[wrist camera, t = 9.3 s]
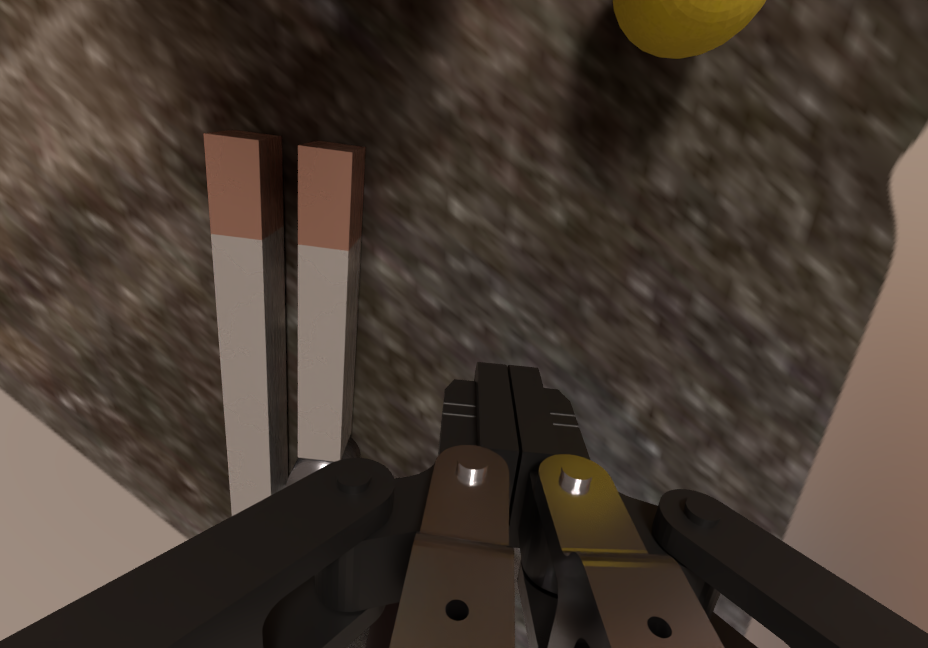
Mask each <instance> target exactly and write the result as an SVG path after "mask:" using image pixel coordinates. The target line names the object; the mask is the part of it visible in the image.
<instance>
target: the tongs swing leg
mask: <svg viewBox="0 0 928 648" xmlns="http://www.w3.org/2000/svg"><path fill="white" fill-rule="evenodd" d="M365 151H366V147H362V146H355V145H347V144H340V143H332V142H325V141H318V140H317V141H313V142H309V143H305V144H301V145H298V459H297V461H296V463H295V465H294V467H293V470H292V472H291V474H290V476H289V478H288V480H287V486H289V485H291V484H293V483H295V482H297V481H299V480H300V479H302V478H304V477H306V476H308V475H310V474H312V473H313V472H315V471H317V470H319V469H321V468H323V467H325V466H326V465H328V464H330V463H333V462H335V461H338V460H342V459H347V458H360V450H359V447H358V445H357V444H356V442H355V441H354V440H353V439H352V438H351V437H350V434H351V432H352V413H353V393H354V372H355V352H356V332H357V312H358V292H359V272H360V252H361V232H362V212H363V192H364V171H365Z"/></svg>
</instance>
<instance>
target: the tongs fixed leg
mask: <svg viewBox="0 0 928 648" xmlns="http://www.w3.org/2000/svg"><path fill="white" fill-rule="evenodd" d="M204 147H205V160H206V173H207V187H208V200H209V214H210V227H211V241H212V254H213V267H214V281H215V294H216V308H217V321H218V335H219V348H220V361H221V375H222V388H223V402H224V415H225V429H226V442H227V455H228V469H229V482H230V496H231V509H232V516H234V515H235V514H237V513H239V512H241V511H243V510H245V509H247V508H248V507H250V506H252V505H254V504H256V503H258V502H260V501H261V500H263V499H265V498H267V497H269V496H271V495H273V494H274V493H276V492H278V491H280V490H282V489H284V488H286V487H287V480H288V446H287V390H286V334H285V278H284V223H283V167H282V136H277V135H270V134H262V133H254V132H246V131H238V130H227V131H219V132H211V133H204Z"/></svg>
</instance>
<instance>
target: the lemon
mask: <svg viewBox="0 0 928 648" xmlns="http://www.w3.org/2000/svg"><path fill="white" fill-rule="evenodd" d="M765 1H766V0H613V7H614V12H615V15H616V18H617V21H618V23H619V26H620V28H621V29H622V31H623V32H624V34H625V35H626V36H627V38H628V39H629V41H631V42H632V43H633V44H634V45H636V46H637V47H638V48H639V49H641V50H642V51H644V52H647V53H649V54H652V55H654V56H657V57H661V58H674V59H680V58H686V57H691V56H696V55H700V54H703V53H705V52H707V51H709V50H712V49H714V48H716V47H718V46H720V45H722V44H724V43H725V42H726V41H728V40H729V39H730V38H732V37H733V36H734V35H735V34H737V33H738V32H739V31H741V30H742V29H743V28H744V27H745V26H746V25H747V24H748V23H749V22H750V21H751V20H752V18H753V17H754V16H755V15H756V14H757V12H758V11H759V10H760V9H761V8H762V6H763V5H764V3H765Z"/></svg>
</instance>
